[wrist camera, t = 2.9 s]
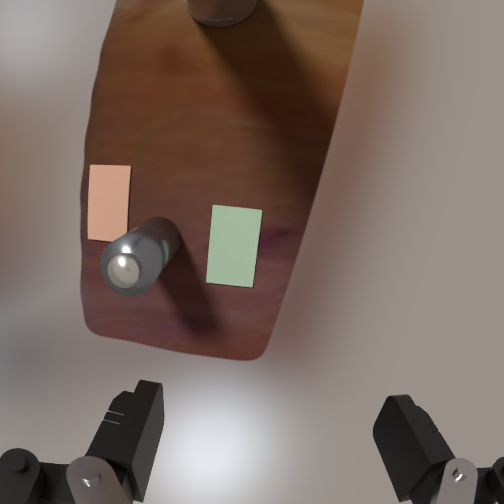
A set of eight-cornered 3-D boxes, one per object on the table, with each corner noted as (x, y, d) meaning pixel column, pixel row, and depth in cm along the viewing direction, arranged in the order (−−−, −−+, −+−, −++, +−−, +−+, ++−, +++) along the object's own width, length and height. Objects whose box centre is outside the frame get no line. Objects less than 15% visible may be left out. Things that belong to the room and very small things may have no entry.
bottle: (139, 215, 38) (94, 238, 25) (182, 219, 38) (152, 244, 25) (138, 257, 39) (96, 296, 26) (179, 262, 40) (151, 305, 27)
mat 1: (91, 164, 36) (90, 164, 36) (131, 166, 36) (130, 166, 36) (88, 238, 38) (87, 238, 38) (127, 242, 39) (126, 243, 39)
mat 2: (213, 204, 38) (213, 204, 37) (262, 210, 38) (262, 210, 38) (206, 281, 40) (206, 282, 40) (252, 286, 40) (252, 287, 40)
